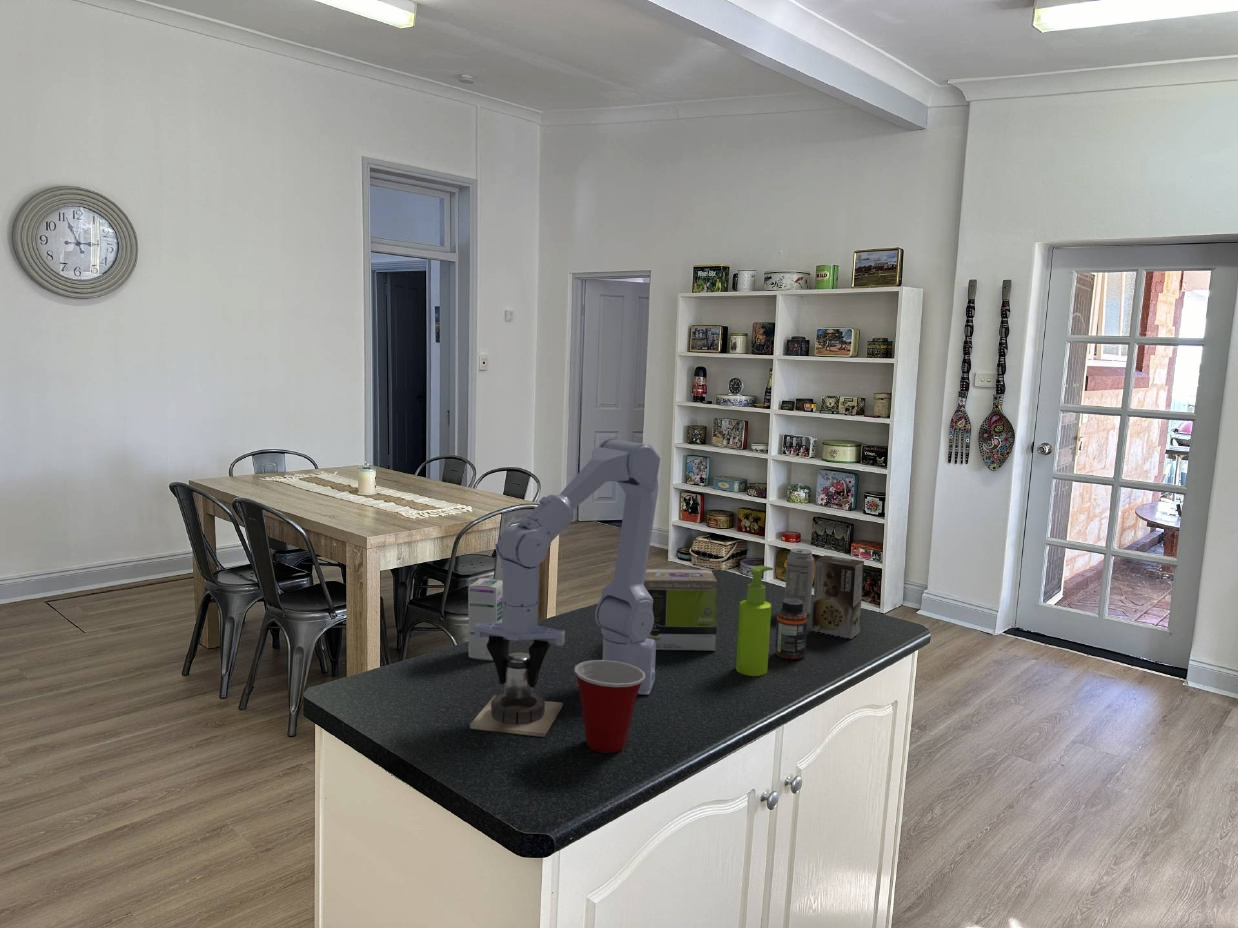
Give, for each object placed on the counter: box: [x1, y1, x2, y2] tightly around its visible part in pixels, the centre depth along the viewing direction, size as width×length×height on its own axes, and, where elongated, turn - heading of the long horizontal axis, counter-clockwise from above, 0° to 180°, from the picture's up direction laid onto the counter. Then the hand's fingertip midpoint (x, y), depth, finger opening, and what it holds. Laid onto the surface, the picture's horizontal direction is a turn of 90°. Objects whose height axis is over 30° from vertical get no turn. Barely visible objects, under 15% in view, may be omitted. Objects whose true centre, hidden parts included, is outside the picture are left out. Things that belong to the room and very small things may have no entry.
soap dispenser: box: [735, 565, 774, 677], centre depth 167 cm, size 6×7×20 cm
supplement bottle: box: [774, 598, 808, 661], centre depth 176 cm, size 6×6×11 cm
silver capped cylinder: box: [504, 652, 533, 698], centre depth 142 cm, size 4×4×6 cm
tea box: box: [644, 568, 719, 652], centre depth 180 cm, size 15×10×15 cm, turn 92°
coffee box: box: [811, 554, 865, 640], centre depth 191 cm, size 9×6×16 cm
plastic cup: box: [574, 659, 645, 754], centre depth 134 cm, size 11×11×12 cm
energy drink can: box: [784, 548, 815, 616], centre depth 204 cm, size 6×6×15 cm
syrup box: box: [467, 577, 503, 661], centre depth 170 cm, size 6×6×14 cm
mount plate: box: [469, 692, 563, 738], centre depth 143 cm, size 12×12×3 cm
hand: (518, 683), depth 142 cm, fingers closed on silver capped cylinder, 4 cm apart
